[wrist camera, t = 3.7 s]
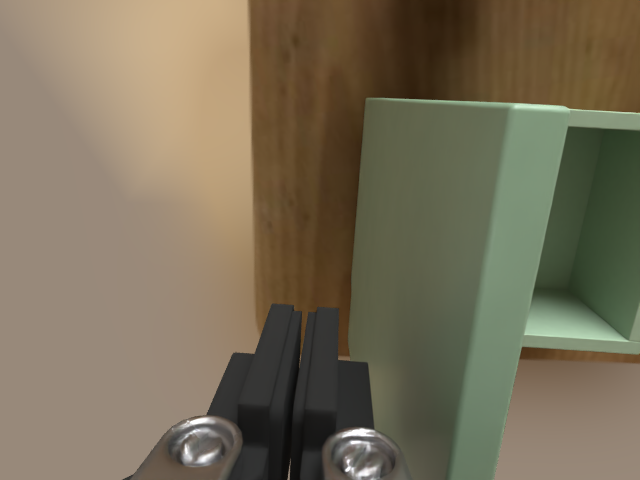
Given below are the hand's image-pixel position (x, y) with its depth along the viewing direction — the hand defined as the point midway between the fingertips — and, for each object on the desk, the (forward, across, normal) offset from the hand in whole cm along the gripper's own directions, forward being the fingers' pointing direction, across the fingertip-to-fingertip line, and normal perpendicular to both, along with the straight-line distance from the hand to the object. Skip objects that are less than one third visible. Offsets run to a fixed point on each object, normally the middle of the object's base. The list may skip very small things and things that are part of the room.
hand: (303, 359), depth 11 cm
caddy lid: (+4, -3, 0) cm, 5 cm away
